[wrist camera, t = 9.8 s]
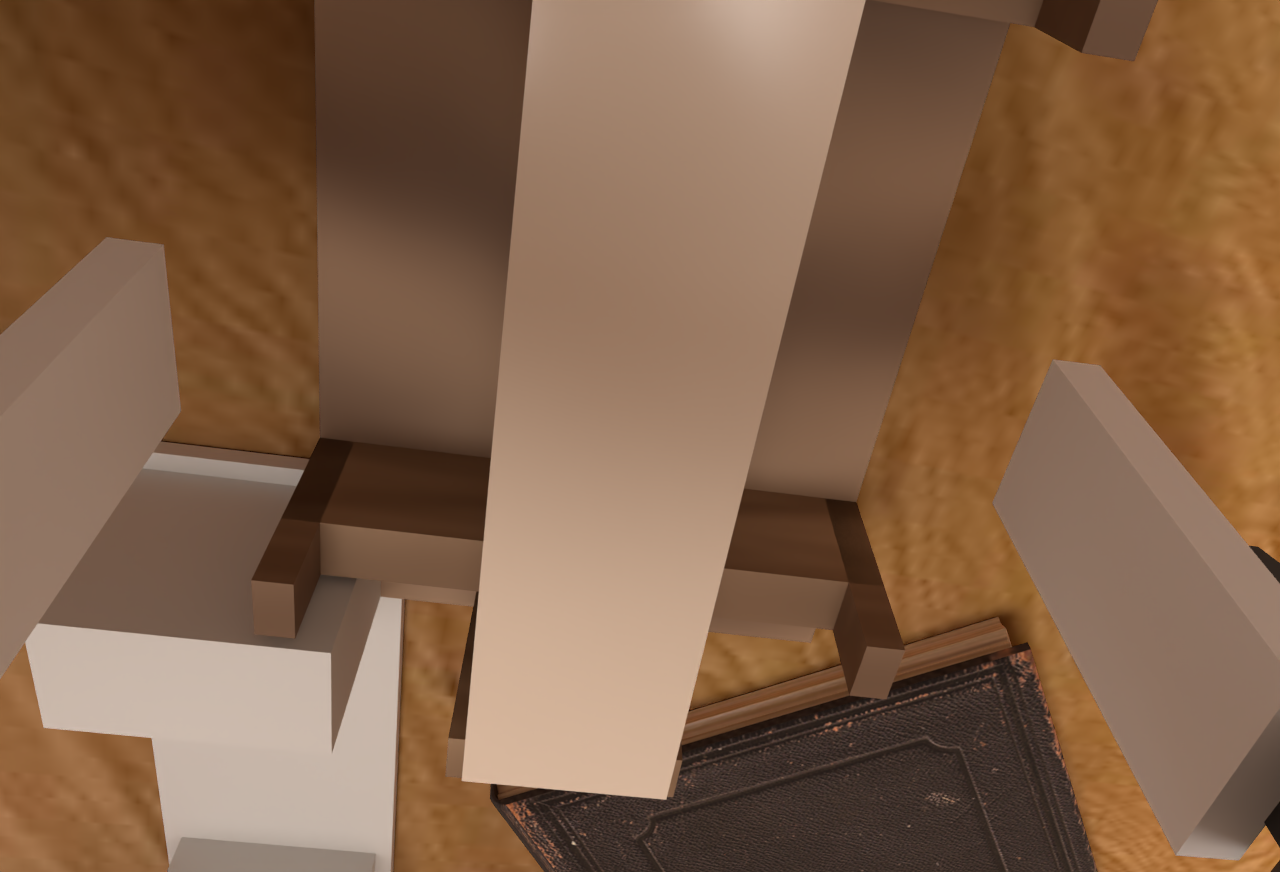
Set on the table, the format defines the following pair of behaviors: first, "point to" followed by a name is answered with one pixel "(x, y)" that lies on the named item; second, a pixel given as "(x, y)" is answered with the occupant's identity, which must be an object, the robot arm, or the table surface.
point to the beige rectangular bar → (637, 364)
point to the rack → (476, 291)
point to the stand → (230, 673)
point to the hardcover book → (843, 779)
